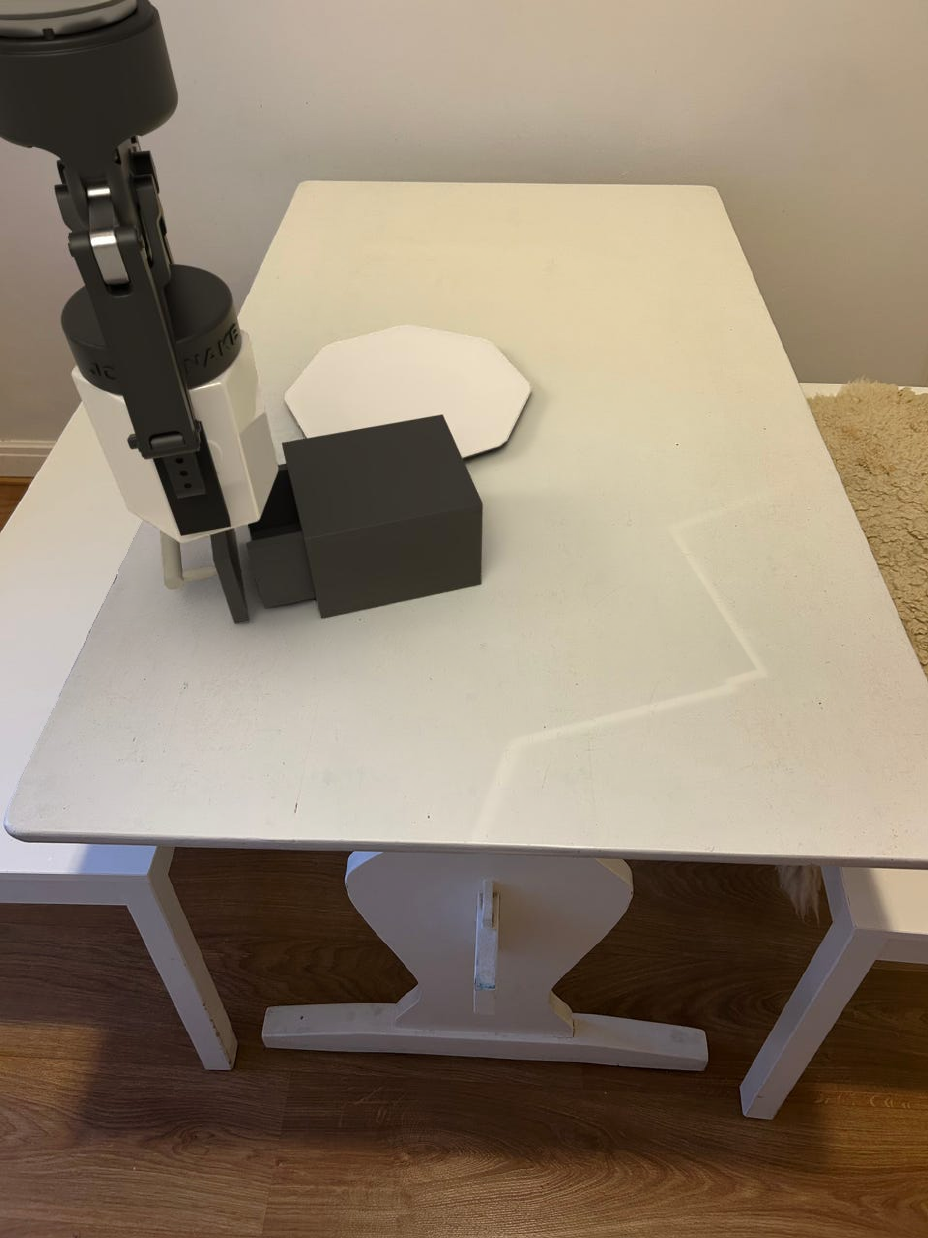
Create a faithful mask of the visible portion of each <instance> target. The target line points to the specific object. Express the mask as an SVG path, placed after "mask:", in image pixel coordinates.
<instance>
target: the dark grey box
mask: <svg viewBox="0 0 928 1238" xmlns="http://www.w3.org/2000/svg"><path fill="white" fill-rule="evenodd" d="M281 447H282V451H283V456H284V461H285V464H287V468H288V473H289V477H290V481H291V485H292V490H293V494H294V498H295V502H296V507H297V511H298V515H299V519H300V523H301V528H302V532H303V536H304V540H305V545H306V550H307V555H308V560H309V565H310V569H311V574H312V579H313V584H314V589H315V593H316V598H315V600H316V603H317V609H318V612H319V617H320V619H321V620H323V619H327V618H332V617H337V616H341V615H346V614H350V613H355V612H360V611H364V610H369V609H373V608H374V609H375V608H378V607H383V606H387V605H391V604H392V605H393V604H396V603H401V602H406V601H410V600H411V601H412V600H415V599H420V598H424V597H429V596H433V595H434V596H435V595H438V594H442V593H447V592H453V591H456V590H461V589H466V588H470V587H476V586H479V585H481V584H482V563H483V562H482V561H483V518H484V517H483V515H484V503H483V501H482V499H481V497H480V494H479V492H478V490H477V487H476V486H475V483H474V481H473V479H472V476H471V474H470V471H469V469H468V467H467V465H466V463H465V461H464V459H463V458H462V456H461V454H460V452H459V449H458V447H457V445H456V443H455V440H454V438H453V436H452V434H451V432H450V429H449V427H448V425H447V423H446V420H445V418H444V416H443V414H441V415H436V416H430V417H424V418H419V419H413V420H407V421H402V422H396V423H391V424H385V425H379V426H374V427H368V428H362V429H357V430H351V431H345V432H340V433H334V434H328V435H323V436H317V437H312V438H306V437H305V438H300V439H296V440H290V441H289V440H288V441H285V442H281Z"/></svg>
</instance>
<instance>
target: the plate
mask: <svg viewBox="0 0 928 1238" xmlns="http://www.w3.org/2000/svg"><path fill="white" fill-rule="evenodd" d="M531 394H532V387H531V383H530V382H529V381H528V380H527V379H526V378H525V377H524V376H523V374H522V373H521V372H520V371H519V370H518V369H517V368H516V367H515V366H514V364H513V363H511V361H509V359H508V358H507V357H506V356H505V355H504V354H503V352H501V350H499V348H498V347H497V346H496V344H494V343H493V342H492V341H490V340H488V339H487V338H485V337H484V338H483V337H479V336H473V335H469V334H463V333H457V332H452V331H447V330H441V329H435V328H430V327H425V326H419V325H416V324H415V325H414V324H400V325H396V326H392V327H389V328H385V329H381V330H377V331H373V332H369V333H366V334H361V335H358V336H353V337H350V338H347V339H343V340H339V341H335V342H331V343H329V344H327V345H325V346H323V347H321V348H320V349H319V351H318V352H317V353H316V355H315V356H314V357H313V358H312V359H311V361H310V362H308V364H307V365H306V367H305V368H304V369H303V371H302V372H301V373H300V374H299V376H298V377H297V378H296V379H295V381H294V382H293V383H292V384H291V385H290V387H289V388H288V389H287V390H286V391H285V394H284V403H285V405H286V406H287V408H288V409H289V411H290V414H292V417H293V418H294V420H295V421H296V423H297V425H298V427H299V428H300V430H301V431H302V433H303V435H304V437H305V439H306V438H312V437H317V436H323V435H328V434H334V433H340V432H345V431H351V430H357V429H362V428H368V427H374V426H379V425H385V424H391V423H396V422H402V421H407V420H413V419H419V418H424V417H430V416H436V415H441V414H443V416H444V418H445V420H446V423H447V425H448V427H449V429H450V432H451V434H452V436H453V438H454V440H455V443H456V445H457V447H458V449H459V452H460V454H461V456H462V458H463V460H466V459H468V458H469V459H470V458H471V457H475V456H478V455H481V454H486V453H487V452H491V451H494V450H497V449H499V448H501V447H503V446H504V445H505V444H506V443H507V442H508V440H509V439H510V437H511V435H512V432H513V430H514V429H515V426H516V424H517V422H518V420H519V418H520V417H521V414H522V412H523V410H524V408H525V405H526V404H527V402H528V400H529V397H531Z"/></svg>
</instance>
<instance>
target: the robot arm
mask: <svg viewBox="0 0 928 1238" xmlns="http://www.w3.org/2000/svg"><path fill="white" fill-rule="evenodd" d="M178 103H179V92H178V89H177V85H176V80H175V75H174V72H173V68H172V63H171V58H170V54H169V50H168V46H167V42H166V37H165V33H164V29H163V24H162V20H161V16H160V13H159V10H158V9H157V8H156V6H154V4H152V3H151V2H150V0H0V138H1V139H2V140H4V141H6V142H8V143H10V144H13V145H15V146H18V147H23V148H27V149H32V148H33V147H34V148H37V149H40V150H42V151H43V150H44V151H46V152H48V153H50V154H53V155H54V156H56V157H57V158H59V159H57V160H56V168H57V172H58V176H59V179H60V182H61V183H58V184H54V186H53V187H54V195H55V198H56V202H57V205H58V209H59V212H60V215H61V219H62V222H63V223H64V225H65V226H66V228H68V229H69V230H70V231H71V232H68V236H67V240H68V243H67V247H68V251H69V254H70V257H71V258H73V259H74V261H75V264H76V267H77V269H78V271H79V273H80V276H81V278H82V281H83V284H84V286H86V288H87V291H88V293H89V296H90V299H91V302H92V305H93V308H94V311H95V314H96V317H97V320H98V323H99V326H100V329H101V332H102V335H103V338H104V341H105V344H106V347H107V350H108V353H109V356H110V359H111V362H112V365H113V368H114V371H115V374H116V377H117V380H118V383H119V386H120V389H121V392H122V395H123V398H124V401H125V404H126V407H127V410H128V413H129V416H130V419H131V423H132V426H133V429H134V432H135V434H130V436H129V437H128V439H127V442H128V445H129V447H130V449H131V450H132V449H138V450H139V452H141V455H142V457H143V458H144V459H145V460H147V459H153V461H154V464H155V467H156V470H157V472H158V475H159V478H160V481H161V483H162V486H163V489H164V492H165V494H166V497H167V500H168V502H169V505H170V508H171V511H172V513H173V516H174V519H175V522H176V524H177V527H178V530H179V533H180V535H181V536H184V535H189V534H195V533H200V532H206V531H211V530H217V529H222V528H228V527H231V521H230V516H229V513H228V509H227V506H226V502H225V499H224V496H223V492H222V489H221V486H220V482H219V479H218V475H217V472H216V469H215V465H214V462H213V459H212V455H211V452H210V448H209V445H208V442H207V438H206V435H205V432H204V428H203V425H202V421H199V420H197V419H196V417H195V413H194V409H193V405H192V401H191V397H190V393H189V389H188V385H187V381H186V377H185V373H184V369H183V366H182V363H181V359H180V356H179V353H178V349H177V346H176V341H175V334H174V330H173V326H172V322H171V318H170V314H169V310H168V306H167V302H166V298H165V294H164V287H165V285H166V284H167V283H168V282H169V281H170V279H171V271H170V267H169V264H176V263H175V260H174V257H173V252H172V250H171V246H170V243H169V239H168V236H167V233H168V230H167V225H166V218H165V211H164V209H163V205H162V202H161V199H160V196H159V194H160V185H159V180H158V175H157V169H156V165H155V162H154V159H153V155H152V153H151V150H150V149H149V150H142V148H141V144H140V140H139V137H144V136H146V135H149V134H151V133H153V132H155V131H156V130H158V129H159V128H161V127H162V126H163V125H165V124H166V123H167V122H168V121H169V120H170V119H171V118H172V117H173V115H174V114H175V112H176V110H177V107H178Z"/></svg>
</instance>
